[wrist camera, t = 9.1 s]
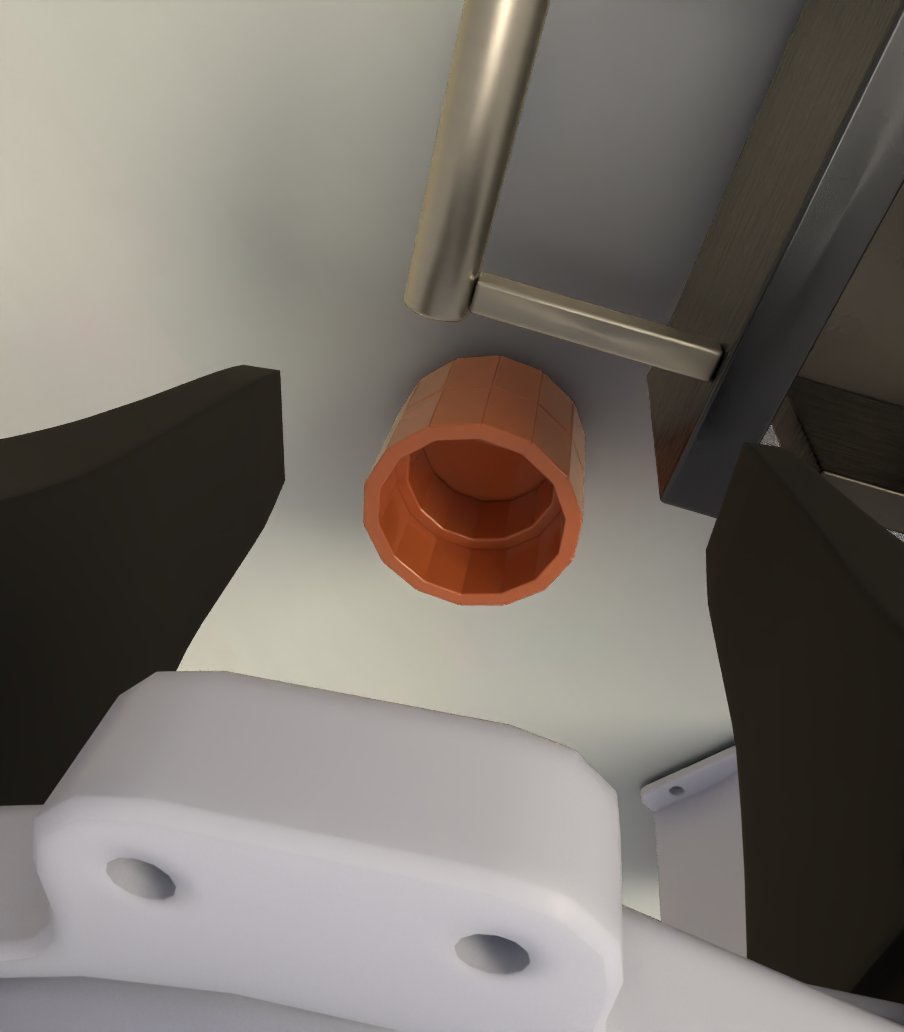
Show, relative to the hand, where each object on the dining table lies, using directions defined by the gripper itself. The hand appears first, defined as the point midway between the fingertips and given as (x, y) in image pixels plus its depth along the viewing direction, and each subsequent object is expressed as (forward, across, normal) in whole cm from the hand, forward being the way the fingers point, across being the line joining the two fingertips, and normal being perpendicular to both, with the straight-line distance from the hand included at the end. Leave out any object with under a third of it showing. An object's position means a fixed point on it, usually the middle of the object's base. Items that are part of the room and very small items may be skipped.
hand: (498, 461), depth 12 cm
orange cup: (+9, +1, +4) cm, 10 cm away
